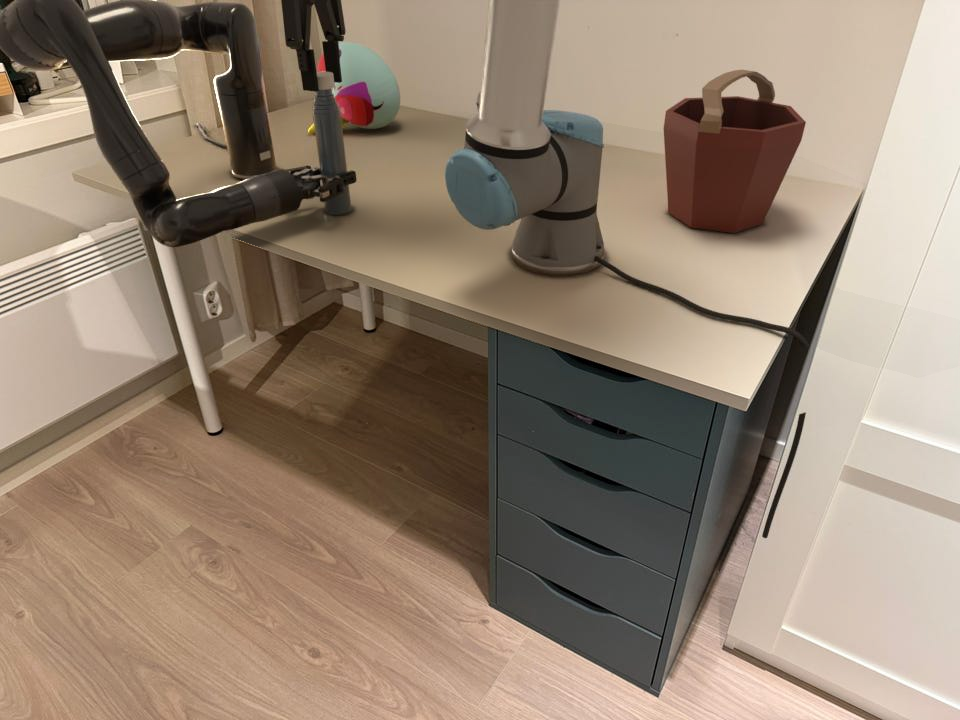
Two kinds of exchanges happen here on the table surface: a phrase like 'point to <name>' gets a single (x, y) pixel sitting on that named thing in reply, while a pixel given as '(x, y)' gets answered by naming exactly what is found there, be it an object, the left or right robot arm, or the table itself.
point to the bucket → (728, 154)
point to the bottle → (330, 146)
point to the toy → (364, 88)
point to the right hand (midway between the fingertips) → (323, 85)
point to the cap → (325, 80)
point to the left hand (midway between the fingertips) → (345, 172)
